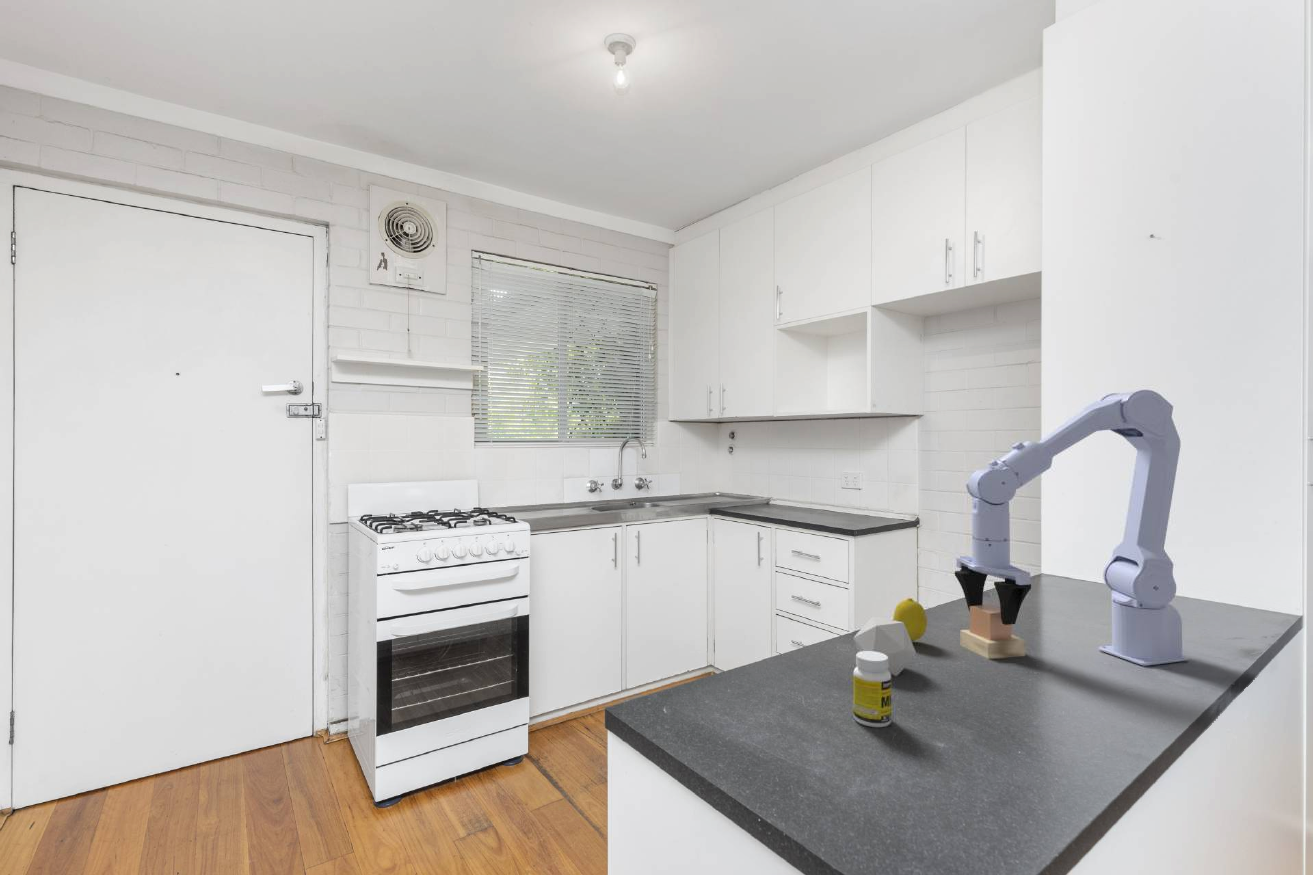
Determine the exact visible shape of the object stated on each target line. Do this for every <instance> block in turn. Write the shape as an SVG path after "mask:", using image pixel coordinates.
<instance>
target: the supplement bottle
mask: <svg viewBox="0 0 1313 875" xmlns="http://www.w3.org/2000/svg"><path fill="white" fill-rule="evenodd" d="M855 663H856V664H855V665H856V667H855V668H854V670H853V671H852V672H853V673H852V676H853V678H852V680H853V681H852V682H853V685H852V686H853V687H852V688H853V701H852V702H853V703H852V704H853V705H852V707H853V708H852V709H853V710H852V711H853V713H852V714H853V715H852V716H853V718H854V720H855V721H856V722H858V723H859V724H861V725H863V726H867V727H871V728H884V727H887V726H889V725H891V723H892V675H891V674H890V672H889V671H888V667H889V664H888V656H886V655H885V654H883V653H880V652H874V651H861V652H859V651H858V652H857V653H856V655H855Z"/></svg>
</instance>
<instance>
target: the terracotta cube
mask: <svg viewBox="0 0 1313 875" xmlns="http://www.w3.org/2000/svg"><path fill="white" fill-rule="evenodd" d="M1012 625H1013V624H1010V625H1005V624H1002V620H1001V611H1000V606H998V605H994V604H991V603H990V604H982V605H978V606H970V612H969V630H970V632H971V633H974V634H976V635H979V636H981V637H984V638H986V639H989V640H995V639H1003V638H1011V637H1012V635H1013V633H1012V627H1013V626H1012Z"/></svg>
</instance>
